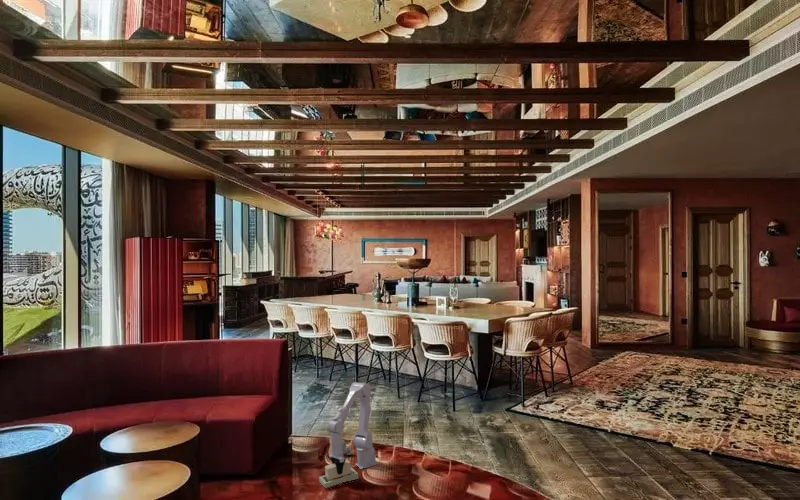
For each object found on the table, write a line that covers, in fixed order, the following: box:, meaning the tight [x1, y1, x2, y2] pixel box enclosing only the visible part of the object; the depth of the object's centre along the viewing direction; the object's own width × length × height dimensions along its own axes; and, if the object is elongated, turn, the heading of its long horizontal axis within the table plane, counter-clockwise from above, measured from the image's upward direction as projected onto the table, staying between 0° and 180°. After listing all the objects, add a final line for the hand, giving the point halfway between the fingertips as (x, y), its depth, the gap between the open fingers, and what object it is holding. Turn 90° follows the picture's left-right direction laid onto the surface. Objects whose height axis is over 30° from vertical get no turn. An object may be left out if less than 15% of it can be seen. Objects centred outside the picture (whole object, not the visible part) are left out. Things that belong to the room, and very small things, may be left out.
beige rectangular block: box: [324, 459, 352, 480], centre depth 217 cm, size 12×4×5 cm, turn 118°
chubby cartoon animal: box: [342, 439, 353, 456], centre depth 249 cm, size 7×12×8 cm, turn 67°
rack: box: [318, 467, 359, 488], centre depth 217 cm, size 18×9×3 cm, turn 118°
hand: (338, 472), depth 217 cm, fingers closed on beige rectangular block, 4 cm apart
